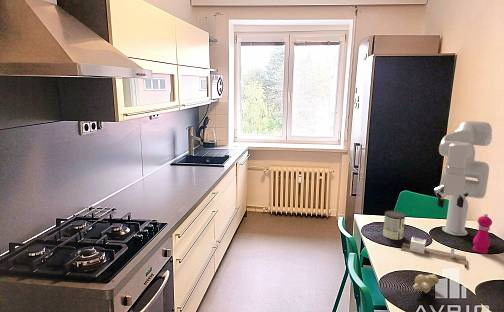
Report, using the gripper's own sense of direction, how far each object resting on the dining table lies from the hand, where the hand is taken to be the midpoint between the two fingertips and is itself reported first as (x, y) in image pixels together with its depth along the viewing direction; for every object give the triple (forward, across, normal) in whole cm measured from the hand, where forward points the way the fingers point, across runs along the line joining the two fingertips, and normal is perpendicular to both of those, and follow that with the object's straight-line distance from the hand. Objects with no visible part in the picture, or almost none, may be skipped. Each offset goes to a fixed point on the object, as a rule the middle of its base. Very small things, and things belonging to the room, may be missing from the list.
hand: (449, 206), depth 160 cm
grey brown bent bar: (+27, +2, -5) cm, 27 cm away
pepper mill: (+27, -27, -9) cm, 39 cm away
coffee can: (+27, +11, -26) cm, 39 cm away
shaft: (+25, -5, 0) cm, 26 cm away
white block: (+25, +7, -9) cm, 28 cm away
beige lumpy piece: (+28, +25, +23) cm, 44 cm away
